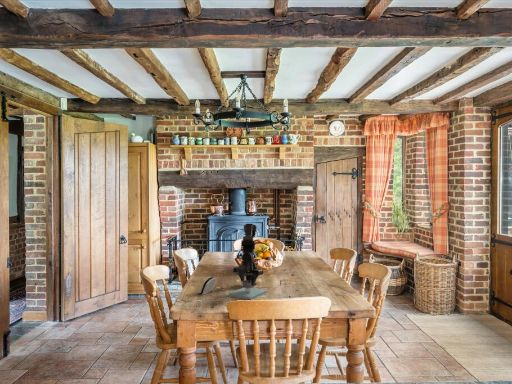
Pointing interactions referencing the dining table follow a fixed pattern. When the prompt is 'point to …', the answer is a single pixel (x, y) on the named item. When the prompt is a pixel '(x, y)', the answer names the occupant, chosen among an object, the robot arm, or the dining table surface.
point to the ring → (247, 284)
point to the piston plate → (247, 293)
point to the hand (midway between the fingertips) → (247, 284)
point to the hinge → (207, 285)
